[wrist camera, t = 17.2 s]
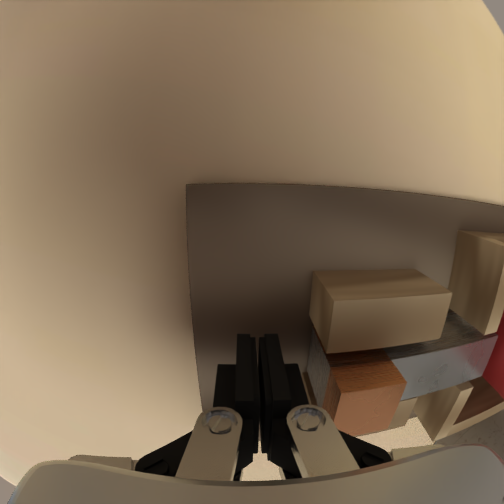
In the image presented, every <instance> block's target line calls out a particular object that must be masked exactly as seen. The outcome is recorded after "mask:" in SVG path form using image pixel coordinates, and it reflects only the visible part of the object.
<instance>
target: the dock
mask: <svg viewBox="0 0 504 504" xmlns="http://www.w3.org/2000/svg"><path fill="white" fill-rule="evenodd" d="M186 215H187V244H188V265H189V282H190V297H191V310H192V322H193V333H194V344H195V353H196V363H197V371H198V380H199V388H200V396H201V403H202V410H203V411H205V410H207V409H209V408H213V400H214V391H215V382H216V374H217V366H218V364H236V349H237V334H250V337H255V338H256V350H257V363H258V350H259V337H264V334H278V337H279V342H280V346H281V351H282V356H283V360H284V364H291V363H297V364H298V366H299V369H300V373H301V376H302V380H303V384H304V387H305V391H306V394H307V398H308V402H309V405H315V406H318V405H317V401H316V398H315V395H314V392H313V388H312V385H311V382H310V379H309V375H308V372H307V364H308V357H309V349H310V341H311V333H312V326H314V327H315V329H316V331H317V333H318V336H319V338H320V340H321V342H322V344H323V347H324V349H325V351H326V353H327V354H328V353H340V352H350V351H360V350H369V349H377V348H385V347H392V346H399V345H406V344H412V343H418V342H424V341H429V340H435V339H440V337H441V334H442V330H443V327H444V324H445V320H446V316H447V313H453V312H455V313H456V314H458V315H459V316H460V317H462V318H463V319H464V320H466V321H467V322H468V323H469V324H471V325H472V326H473V327H475V328H476V329H477V330H478V331H480V332H481V333H482V334H483V335H487V334H491V333H494V332H497V329H498V326H499V323H500V320H501V317H502V314H503V310H504V206H499V205H494V204H488V203H482V202H476V201H470V200H463V199H457V198H450V197H442V196H435V195H427V194H418V193H409V192H400V191H390V190H379V189H367V188H354V187H339V186H321V185H299V184H260V183H214V184H187V185H186ZM503 409H504V399H503V398H502V397H501V396H500V395H499V393H498V392H497V391H496V390H495V389H494V388H493V387H492V386H491V385H490V384H489V383H488V382H487V381H486V380H485V379H484V378H483V377H482V376H480V377H477V378H475V379H472V380H469V381H466V382H464V383H461V384H458V385H455V386H452V387H448V388H445V389H442V390H439V391H435V392H432V393H428V394H425V395H421V396H417V397H413V398H409V399H405V400H401V401H400V402H399V404H398V407H397V409H396V411H395V414H394V416H393V418H392V421H391V423H390V425H389V427H388V429H384V430H380V431H376V432H371V433H366V434H361V435H356V436H353V437H357V436H362V435H367V434H372V433H377V432H381V431H385V430H389V429H394V428H397V427H401V426H405V424H406V422H407V420H408V419H410V418H413V417H418V419H419V420H420V422H421V423H422V425H423V427H424V428H425V430H426V431H427V433H428V435H429V436H430V438H431V440H432V441H433V442H434V441H436V440H439V439H441V438H444V437H447V436H449V435H451V434H454V433H456V432H458V431H461V430H463V429H465V428H467V427H470V426H472V425H474V424H476V423H478V422H480V421H482V420H484V419H486V418H488V417H490V416H492V415H494V414H496V413H497V412H499V411H501V410H503ZM258 441H261V437H260V423H259V440H258Z"/></svg>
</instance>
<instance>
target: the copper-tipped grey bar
mask: <svg viewBox="0 0 504 504" xmlns="http://www.w3.org/2000/svg"><path fill="white" fill-rule="evenodd" d="M497 338H498V335H497V334H496V333H495V332H494V333H491V334H487V335H483V334H482V333H481V332H480V331H478V330H477V329H476V328H475V327H473V326H472V325H471V324H469V323H468V322H467V321H466V320H464V319H463V318H462V317H460V316H459V315H458V314H456V313H455V312H453V313H447V316H446V320H445V324H444V327H443V330H442V334H441V337H440V339H435V340H429V341H424V342H418V343H412V344H406V345H399V346H392V347H385V348H377V349H369V350H360V351H350V352H340V353H328V354H327V353H326V351H325V349H324V347H323V344H322V342H321V340H320V338H319V336H318V333H317V331H316V329H315V327H314V326H312V333H311V341H310V349H309V357H308V364H307V372H308V375H309V379H310V382H311V385H312V388H313V392H314V395H315V398H316V401H317V405H318V407H321V408H323V409H324V410H326V411H327V413H328V414H329V415H330V417H331V419H332V420H333V422H334V424H335V426H336V427H337V429H338V430H340V431H342V432H345V433H347V434H349V435H351V436H356V435H361V434H366V433H371V432H376V431H380V430H384V429H388V427H389V425H390V423H391V421H392V418H393V416H394V414H395V411H396V409H397V407H398V404H399V402H400V401H401V400H405V399H409V398H413V397H417V396H421V395H425V394H428V393H432V392H435V391H439V390H442V389H445V388H448V387H452V386H455V385H458V384H461V383H464V382H466V381H469V380H472V379H475V378H477V377H480V376H482V375H483V372H484V370H485V368H486V366H487V363H488V361H489V358H490V356H491V354H492V351H493V349H494V346H495V343H496V341H497Z"/></svg>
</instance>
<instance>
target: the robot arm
mask: <svg viewBox="0 0 504 504" xmlns="http://www.w3.org/2000/svg"><path fill="white" fill-rule="evenodd" d="M259 423H260V437H261V451H262V453H267V457H268V461H269V460H270V461H271V462H273V463H274V464H276V465H277V466H279V472H280V475H281V478H282V480H270V481H241V480H242V475H243V468H245V467H246V466H247V465H249V464H250V463H251V462H253V453H258V440H259ZM7 504H504V461H503V460H502V459H501V457H500V456H499V455H498V454H497V453H496V452H495V451H494V450H492V449H491V448H489V447H488V446H486V445H483V444H474V443H468V444H456V445H450V446H444V445H441V444H434V445H427V446H419V447H410V448H398V449H392V450H391V452H386V451H385V450H383V449H382V448H380V447H377V446H375V445H372V444H370V443H367V442H365V441H363V440H360V439H358V438H356V437H353V436H351V435H349V434H347V433H345V432H342V431H340V430H338V429H337V427H336V426H335V424H334V422H333V420H332V419H331V417H330V415H329V414H328V413H327V411H326V410H324V409H323V408H321V407H318V406H315V405H309V402H308V398H307V394H306V391H305V387H304V384H303V380H302V376H301V373H300V369H299V366H298V364H297V363H291V364H284V360H283V356H282V351H281V346H280V342H279V337H278V334H264V337H259V350H258V363H257V350H256V338H255V337H250V334H237V349H236V364H218V366H217V374H216V382H215V391H214V400H213V408H209V409H207V410H205V411H203V412H202V413H201V414H200V415H199V417H198V419H197V421H196V424H195V426H194V429H193V431H191V432H189V433H188V434H186V435H184V436H182V437H180V438H178V439H177V440H175V441H173V442H171V443H169V444H167V445H165V446H163V447H161V448H159V449H157V450H155V451H153V452H151V453H149V454H147V455H145V456H144V457H142V458H141V459H139V460H132V458H131V457H105V456H91V455H76V456H73V457H71V458H70V459H69V460H53V461H45V462H41V463H39V464H36V465H35V466H33V467H32V468H31V469H30V470H29V471H28V472H27V473H26V474H25V475H24V477H23V478H22V479H21V481H20V482H19V484H18V485H17V487H16V489H15V490H14V492H13V494H12V496H11V498H10V499H9V501H8V503H7Z"/></svg>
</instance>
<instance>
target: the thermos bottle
mask: <svg viewBox="0 0 504 504" xmlns="http://www.w3.org/2000/svg"><path fill="white" fill-rule="evenodd" d="M468 443H474V444H483V445H486V446H488V447H489V448H491V449H492V450H494V451H495V452H496V453H497V454H498V455H499V456H500V457H501V459H502V460H503V461H504V409H503V410H501V411H499V412H497V413H496V414H494V415H492V416H490V417H488V418H486V419H484V420H482V421H480V422H478V423H476V424H474V425H472V426H470V427H467V428H465V429H463V430H461V431H458V432H456V433H454V434H451V435H449V436H447V437H444V438H441V439H439V440H436V442H435V443H434V444H441V445H444V446H450V445H456V444H468Z"/></svg>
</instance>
